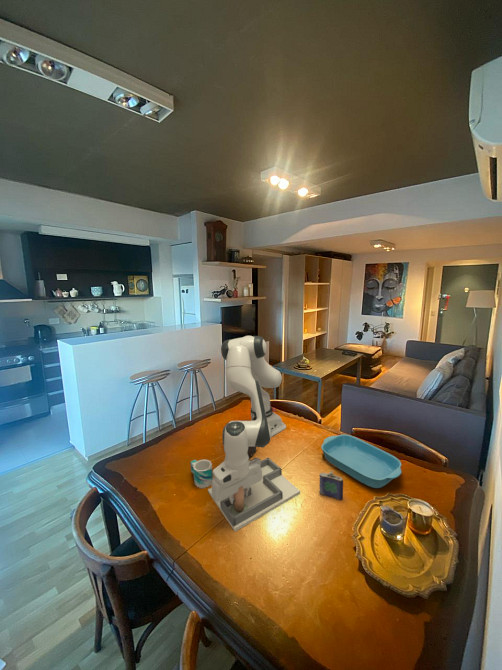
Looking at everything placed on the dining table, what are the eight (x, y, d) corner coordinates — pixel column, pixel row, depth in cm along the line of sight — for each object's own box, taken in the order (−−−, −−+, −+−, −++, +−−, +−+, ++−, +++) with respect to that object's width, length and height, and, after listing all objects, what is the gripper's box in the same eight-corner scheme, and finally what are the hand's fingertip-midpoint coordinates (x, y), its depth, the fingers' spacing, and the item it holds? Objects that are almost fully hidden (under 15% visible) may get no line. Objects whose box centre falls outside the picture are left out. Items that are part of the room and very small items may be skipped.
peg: (241, 501, 106) (240, 478, 104) (246, 508, 103) (245, 485, 101) (232, 506, 104) (230, 483, 102) (237, 513, 101) (236, 489, 99)
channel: (267, 464, 131) (267, 456, 131) (300, 493, 112) (300, 484, 112) (208, 492, 115) (207, 483, 114) (234, 531, 96) (234, 521, 95)
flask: (318, 494, 111) (319, 471, 109) (320, 489, 114) (320, 467, 112) (342, 501, 107) (343, 477, 106) (343, 496, 110) (344, 472, 108)
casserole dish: (312, 456, 136) (312, 443, 135) (340, 441, 149) (340, 429, 147) (383, 502, 106) (384, 486, 105) (411, 478, 119) (412, 463, 117)
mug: (201, 491, 116) (199, 473, 114) (186, 477, 124) (184, 461, 123) (216, 481, 121) (215, 464, 120) (201, 469, 130) (199, 453, 128)
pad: (242, 500, 108) (242, 499, 108) (252, 512, 103) (252, 511, 102) (227, 508, 105) (227, 507, 105) (236, 521, 99) (236, 520, 99)
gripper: (255, 452, 108) (256, 482, 111) (208, 472, 98) (210, 505, 100) (265, 460, 103) (266, 492, 106) (216, 482, 92) (218, 517, 95)
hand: (238, 499), depth 103 cm, fingers closed on peg, 4 cm apart
